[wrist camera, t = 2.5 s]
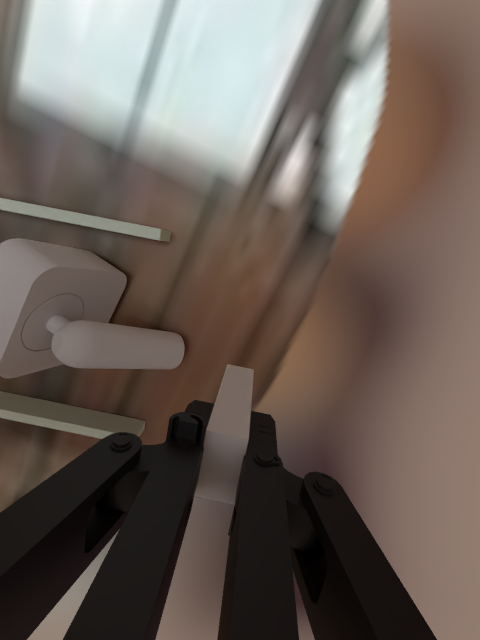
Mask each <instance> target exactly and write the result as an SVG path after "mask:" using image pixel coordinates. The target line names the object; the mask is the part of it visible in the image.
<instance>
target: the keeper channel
mask: <svg viewBox="0 0 480 640" xmlns="http://www.w3.org/2000/svg"><path fill="white" fill-rule="evenodd" d="M0 210H5V211H10V212H15V213H21V214H26V215H31V216H36V217H41V218H46V219H51V220H57V221H62V222H67V223H72V224H77V225H82V226H87V227H93V228H98V229H103V230H108V231H113V232H118V233H123V234H129V235H134V236H139V237H144V238H149V239H154V240H159V241H167V242H170V236H171V231H167V230H163V229H158V228H153V227H148V226H143V225H138V224H132V223H127V222H122V221H117V220H112V219H107V218H102V217H96V216H91V215H86V214H81V213H76V212H71V211H65V210H60V209H55V208H50V207H45V206H40V205H34V204H29V203H24V202H19V201H14V200H9V199H3V198H0ZM0 418H4V419H9V420H14V421H18V422H23V423H28V424H33V425H38V426H43V427H47V428H52V429H57V430H62V431H67V432H72V433H76V434H81V435H86V436H91V437H96V438H100V439H103V438H105V437H106V436H108V435H110V434H113V433H118V432H128V433H132V434H135V435H137V436H138V437H140V435H141V434H142V432H143V431H144V429H145V423H146V421H144V420H139V419H134V418H130V417H125V416H120V415H115V414H110V413H105V412H100V411H95V410H91V409H86V408H81V407H76V406H71V405H66V404H61V403H57V402H52V401H47V400H42V399H37V398H32V397H27V396H22V395H18V394H13V393H8V392H3V391H0Z"/></svg>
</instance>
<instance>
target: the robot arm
mask: <svg viewBox="0 0 480 640" xmlns="http://www.w3.org/2000/svg"><path fill="white" fill-rule="evenodd" d="M253 375H254V369H249V368H244V367H239V366H234V365H229V364H227V367H226V370H225V373H224V376H223V379H222V382H221V386H220V389H219V392H218V395H217V398H216V401H215V404H212V403H207V402H203V401H198V400H194V401H193V402H191V403H190V404H188V406H187V408H186V410H185V412H180V413H177V414H174V415H172V416H171V417H170V419H169V425H168V432H167V438H166V441H165V442H164V443H162V444H158V445H142V441H141V439H140V438H139V437H138V436H137V435H135V434H132V433H128V432H118V433H113V434H110V435H108V436H106V437H105V438H103V439H102V440H100V441H99V442H98V443H96V444H95V445H94V446H92V447H91V448H89V449H88V450H87V451H85V452H84V453H82V454H81V455H80V456H78V457H77V458H76V459H74V460H73V461H71V462H70V463H69V464H67V465H66V466H65V467H63V468H62V469H60V470H59V471H58V472H56V473H55V474H53V475H52V476H51V477H49V478H48V479H47V480H45V481H44V482H42V483H41V484H40V485H38V486H37V487H35V488H34V489H33V490H31V491H30V492H29V493H27V494H26V495H24V496H23V497H22V498H20V499H19V500H17V501H16V502H15V503H13V504H12V505H11V506H9V507H8V508H6V509H5V510H4V511H2V512H1V513H0V640H27V639H28V637H29V636H30V635H31V634H32V633H33V631H34V630H35V629H36V628H37V627H38V626H39V624H40V623H41V622H42V621H43V620H44V618H45V617H46V616H47V615H48V613H49V612H50V611H51V610H52V609H53V608H54V606H55V605H56V604H57V603H58V602H59V601H60V599H61V598H62V597H63V596H64V595H65V593H66V592H67V591H68V590H69V589H70V587H71V586H72V585H73V584H74V583H75V581H76V580H77V579H78V578H79V577H80V575H81V574H82V573H83V572H84V571H85V570H86V568H87V567H88V566H89V565H90V563H91V562H92V561H93V560H94V559H95V558H96V556H97V555H98V554H99V553H100V552H101V550H102V549H103V548H104V547H105V546H106V544H107V543H108V542H109V541H110V540H111V539H112V537H113V536H114V535H115V534H116V532H117V531H118V530H119V529H120V530H119V532H118V534H117V536H116V538H115V540H114V542H113V543H112V545H111V547H110V549H109V551H108V553H107V555H106V557H105V559H104V561H103V563H102V565H101V567H100V569H99V571H98V573H97V574H96V577H95V578H94V580H93V582H92V584H91V586H90V588H89V590H88V592H87V594H86V596H85V598H84V600H83V602H82V604H81V606H80V607H79V609H78V611H77V613H76V615H75V617H74V619H73V621H72V623H71V625H70V627H69V629H68V631H67V633H66V635H65V637H64V638H63V640H155V639H156V635H157V631H158V628H159V624H160V621H161V617H162V614H163V609H164V606H165V603H166V599H167V595H168V592H169V588H170V585H171V580H172V577H173V574H174V570H175V566H176V563H177V559H178V555H179V552H180V548H181V545H182V541H183V537H184V534H185V530H186V527H187V523H188V519H189V516H190V512H191V508H192V503H193V498H194V496H195V497H199V498H204V499H208V500H213V501H217V502H222V503H226V504H231V505H234V504H235V506H234V511H233V515H232V520H231V524H230V529H229V533H228V535H230V538H229V548H228V555H227V564H226V572H225V581H224V589H223V597H222V606H221V615H220V622H219V632H218V640H299V635H298V625H297V613H296V602H295V592H294V581H293V572H294V575H295V578H296V581H297V584H298V587H299V591H300V594H301V597H302V600H303V603H304V607H305V610H306V613H307V616H308V619H309V622H310V626H311V628H312V632H313V635H314V638H315V640H437V639H436V637H435V636H434V634H433V632H432V631H431V629H430V628H429V626H428V624H427V623H426V621H425V620H424V618H423V616H422V615H421V613H420V612H419V610H418V609H417V607H416V605H415V604H414V602H413V600H412V599H411V597H410V596H409V594H408V592H407V591H406V589H405V588H404V586H403V584H402V583H401V581H400V579H399V578H398V576H397V575H396V573H395V572H394V570H393V568H392V567H391V565H390V563H389V562H388V560H387V559H386V557H385V555H384V554H383V552H382V550H381V549H380V547H379V546H378V544H377V543H376V541H375V539H374V538H373V536H372V534H371V533H370V531H369V530H368V528H367V526H366V525H365V523H364V522H363V520H362V518H361V517H360V515H359V514H358V512H357V510H356V509H355V507H354V506H353V504H352V502H351V501H350V499H349V497H348V496H347V494H346V493H345V491H344V489H343V488H342V487H341V485H340V484H339V483H338V482H337V481H336V480H335V479H333V478H332V477H330V476H328V475H326V474H324V473H319V472H310V473H308V474H306V475H305V477H304V479H302V478H300V477H298V476H296V475H294V474H292V473H290V472H288V471H287V470H286V469H285V468H284V467H283V463H282V461H281V459H280V457H279V456H278V453H277V440H276V430H275V429H276V428H275V421H274V420H273V418H272V417H271V415H268V414H264V413H259V412H254V411H251V402H252V388H253ZM292 569H293V570H292Z"/></svg>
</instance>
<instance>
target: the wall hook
mask: <svg viewBox="0 0 480 640" xmlns="http://www.w3.org/2000/svg"><path fill="white" fill-rule="evenodd" d="M126 282H127V278H126V275H125V274H124V273H122V272H121V271H119V270H118V269H116V268H115V267H113V266H112V265H110V264H109V263H107V262H106V261H104V260H103V259H101V258H100V257H98V256H97V255H95V254H94V253H92V252H91V251H88V250H83V249H78V248H72V247H67V246H61V245H55V244H50V243H44V242H38V241H32V240H27V239H21V238H15V239H9V240H6V241H4V242H2V243H1V244H0V376H1V377H3V378H6V379H11V378H16V377H19V376H23V375H27V374H30V373H34V372H38V371H41V370H45V369H48V368H52V367H56V366H59V365H63V364H65V365H67V366H70V367H74V368H92V369H174V368H176V367H177V366H179V364H180V363H181V361H182V359H183V357H184V351H185V347H184V342H183V339H182V337H181V336H180V335H179V334H177V333H175V332H168V331H161V330H153V329H146V328H139V327H132V326H124V325H117V324H110V323H108V322H109V320H110V318H111V316H112V314H113V312H114V310H115V308H116V306H117V304H118V301H119V299H120V297H121V295H122V293H123V291H124V289H125V287H126Z"/></svg>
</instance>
